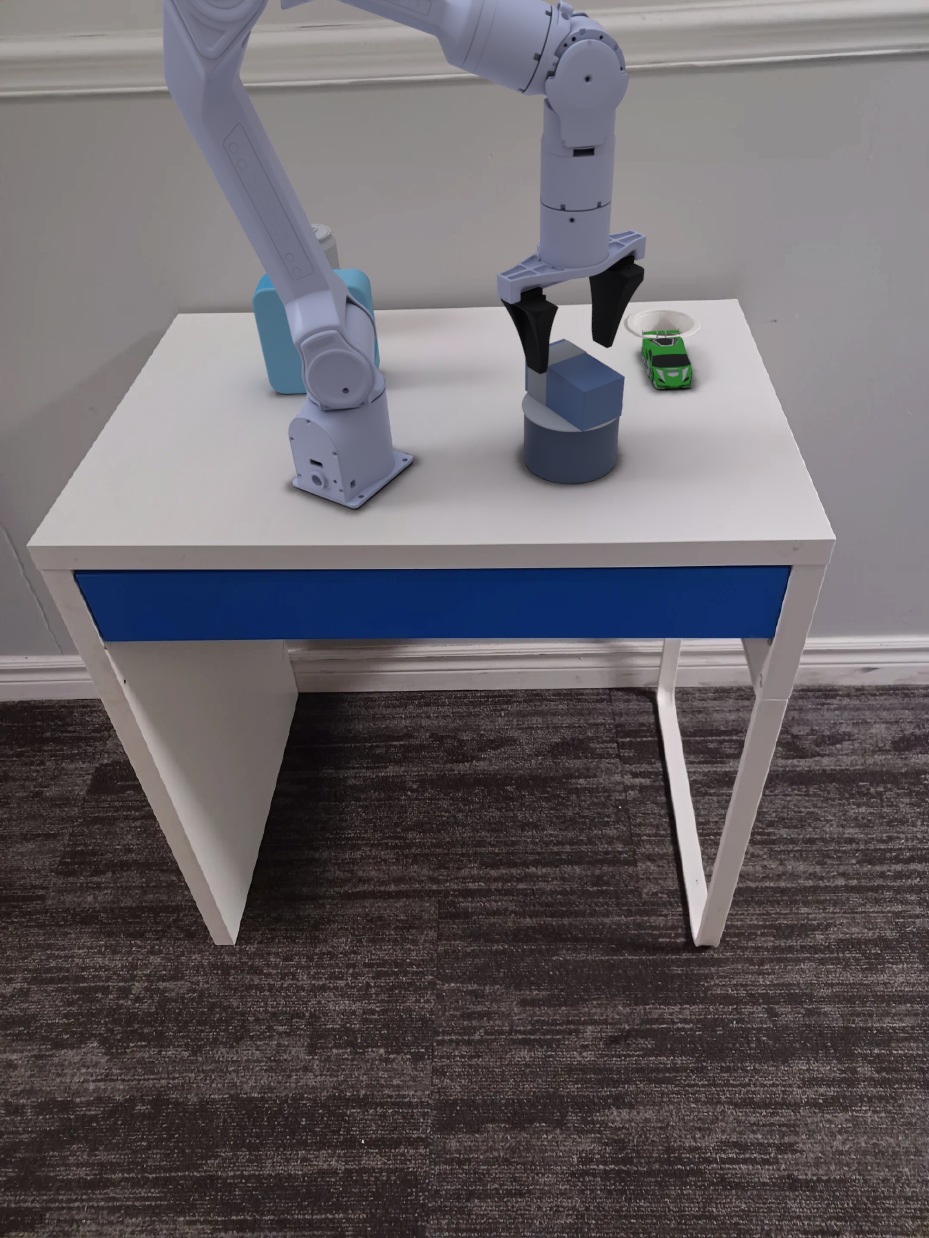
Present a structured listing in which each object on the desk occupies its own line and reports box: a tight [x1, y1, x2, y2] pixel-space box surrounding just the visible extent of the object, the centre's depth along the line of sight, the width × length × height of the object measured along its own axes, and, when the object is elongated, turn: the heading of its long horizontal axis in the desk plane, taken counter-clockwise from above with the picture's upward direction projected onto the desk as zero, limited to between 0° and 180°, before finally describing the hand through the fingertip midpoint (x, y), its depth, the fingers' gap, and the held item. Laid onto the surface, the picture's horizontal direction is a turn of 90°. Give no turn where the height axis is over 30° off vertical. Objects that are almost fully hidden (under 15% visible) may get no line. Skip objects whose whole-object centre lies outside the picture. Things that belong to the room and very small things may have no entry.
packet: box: [524, 338, 626, 431], centre depth 82 cm, size 5×9×4 cm, turn 32°
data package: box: [251, 268, 381, 395], centre depth 96 cm, size 12×4×12 cm, turn 90°
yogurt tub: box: [521, 391, 624, 485], centre depth 85 cm, size 9×9×6 cm
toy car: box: [641, 328, 693, 390], centre depth 98 cm, size 10×5×2 cm, turn 1°
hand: (570, 356), depth 81 cm, fingers open, 7 cm apart
